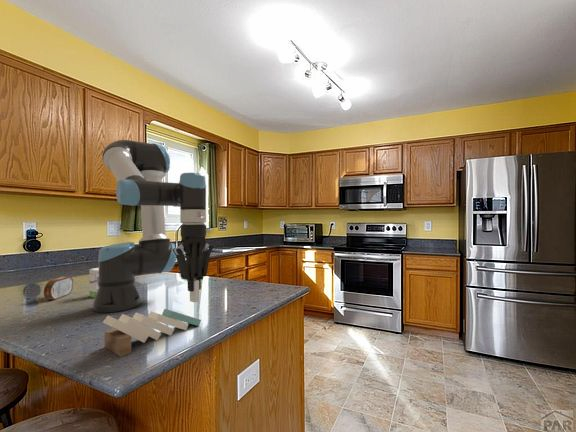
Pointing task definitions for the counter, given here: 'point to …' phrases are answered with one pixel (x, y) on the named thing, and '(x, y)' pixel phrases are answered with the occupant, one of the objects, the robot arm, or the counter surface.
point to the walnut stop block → (118, 342)
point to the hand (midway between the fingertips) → (194, 301)
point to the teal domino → (181, 317)
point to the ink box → (94, 281)
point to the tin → (58, 287)
